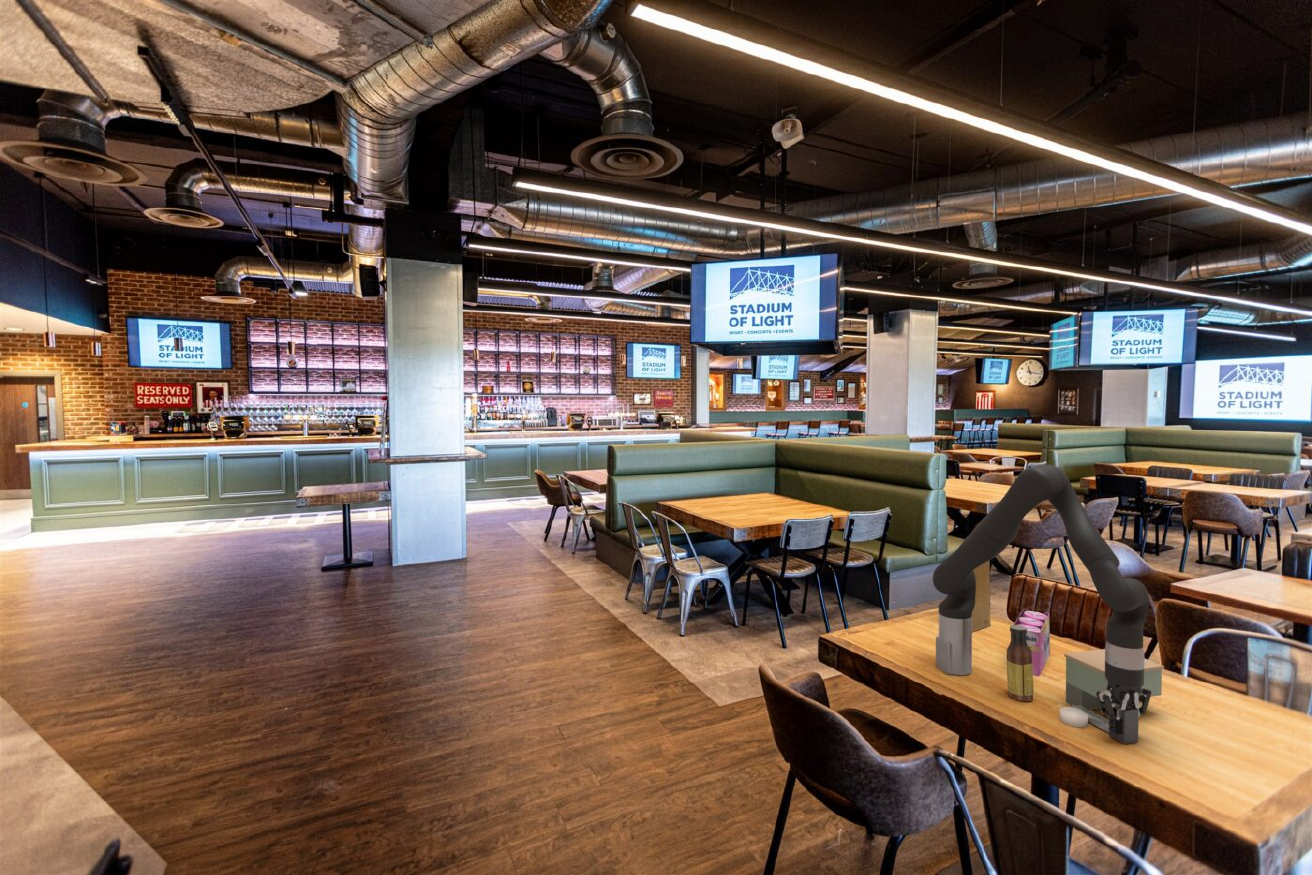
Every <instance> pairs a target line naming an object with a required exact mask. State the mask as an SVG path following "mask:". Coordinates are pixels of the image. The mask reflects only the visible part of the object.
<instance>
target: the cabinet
mask: <svg viewBox="0 0 1312 875" xmlns="http://www.w3.org/2000/svg"><path fill="white" fill-rule="evenodd" d="M1063 656H1064V657H1065V702H1066V703H1067V704H1070V705H1071V706H1073V705H1081V706H1082V707H1084V708H1086V709H1088V710H1096V709H1097V710H1098V709H1100V706H1099V702H1098V699H1097V695H1096V693H1097V691H1100V692H1104V691H1106V688H1107V686H1108V681H1107V679H1106V678H1105V648H1103V649H1094V650H1085V651H1084V650H1083V651H1075V652H1066V653H1064V654H1063ZM1164 669H1165V665H1163V664H1159V663H1157V662H1156V661H1152V660H1149V659H1147V658H1145V657H1144V685H1143V686H1142V687H1144V688H1146V689H1148V690H1150V691H1151V696H1150V698H1152V697H1158V696H1162V691H1163V690H1162V687H1163V685H1162V684H1163V683H1162V681H1163V680H1162V679H1163V678H1162V677H1163V675H1162V674H1163V670H1164ZM1114 703H1115V702H1114Z"/></svg>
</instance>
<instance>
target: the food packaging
mask: <svg viewBox="0 0 1312 875" xmlns="http://www.w3.org/2000/svg"><path fill="white" fill-rule="evenodd" d="M990 566H991V560H989V561H987V562H985V563H984V564H982V565H980V566H978V567H977V568H975V569H974V570H973V571H974V574H975V577H976V595H975V606H974V609H973V611H972V633H974V632H977V631H980V630H983V629H986V628H988V627H991V576H990V575H991V573H990V572H991V570H990V569H991V567H990Z"/></svg>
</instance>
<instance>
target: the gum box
mask: <svg viewBox="0 0 1312 875" xmlns="http://www.w3.org/2000/svg"><path fill="white" fill-rule="evenodd" d="M1012 625H1020V626H1024V627H1026V628H1027V634H1026V641H1027V645H1028V646H1029V648H1030V650H1031V652H1032V662H1033V676H1035V677H1036V676H1037V677H1040V676H1041V674H1042V672H1043V670H1044V668H1045V665H1046V663H1047V660H1048V659H1049V656H1050V653H1051V642H1050V641H1051V640H1050V637H1051V636H1050V612H1048V611H1045V612H1043V613H1041V612H1038V611H1031V610H1029V609H1028V608H1023V609H1022V610H1021V611H1020V612H1019V614H1018V616H1017V619H1016V620H1015V622H1014V623H1013V624H1012Z"/></svg>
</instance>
